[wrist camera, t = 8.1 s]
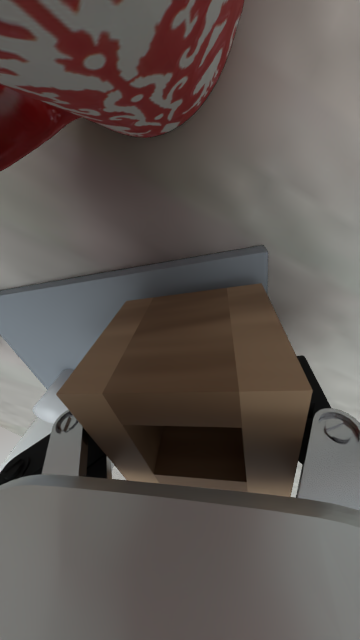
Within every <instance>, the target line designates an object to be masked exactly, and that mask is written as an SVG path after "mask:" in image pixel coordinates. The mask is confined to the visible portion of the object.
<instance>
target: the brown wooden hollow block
mask: <svg viewBox="0 0 360 640" xmlns="http://www.w3.org/2000/svg"><path fill="white" fill-rule="evenodd" d="M312 391H313V390H312V388H311V386H310V384H309V382H308V380H307V377H306V375H305V373H304V371H303V369H302V367H301V365H300V363H299V361H298V359H297V356H296V354H295V352H294V350H293V348H292V346H291V344H290V342H289V340H288V338H287V335H286V333H285V331H284V329H283V327H282V325H281V323H280V321H279V319H278V317H277V314H276V312H275V310H274V308H273V306H272V304H271V302H270V300H269V298H268V296H267V293H266V291H265V289H264V287H263V285H262V283H259V284H252V285H244V286H237V287H229V288H221V289H214V290H206V291H198V292H191V293H183V294H175V295H168V296H160V297H153V298H145V299H137V300H130V301H126V302H125V303H124V305H123V306H122V307H121V309H120V310H119V311H118V313H117V314H116V315H115V317H114V318H113V319H112V321H111V322H110V323H109V325H108V326H107V327H106V328H105V330H104V331H103V332H102V334H101V335H100V336H99V338H98V339H97V340H96V342H95V343H94V344H93V346H92V347H91V348H90V350H89V351H88V352H87V354H86V355H85V356H84V358H83V359H82V360H81V362H80V363H79V364H78V366H77V367H76V368H75V370H74V371H73V372H72V374H71V375H70V376H69V378H68V379H67V380H66V382H65V383H64V384H63V386H62V387H61V388H60V390H59V391H58V392H57V394H56V395H57V396H58V398H59V399H60V400H61V401H62V402H63V404H64V405H65V406H66V407H67V408H68V410H69V411H70V412H71V413H72V414H73V416H74V417H75V418H76V419H77V420H78V422H79V423H80V424H81V425H82V427H83V428H84V429H85V430H86V431H87V433H88V434H89V435H90V436H91V437H92V439H93V440H94V441H95V442H96V443H97V445H98V446H99V447H100V448H101V449H102V451H103V452H104V453H105V454H106V456H107V457H108V458H109V459H110V460H111V462H112V463H113V464H114V465H115V466H116V468H117V469H118V470H119V471H120V472H121V474H122V475H123V476H124V477H125V478H126V480H127V481H138V482H148V483H159V484H169V485H180V486H190V487H200V488H210V489H220V490H230V491H240V492H250V493H260V494H269V495H277V496H285V497H290V496H291V492H292V487H293V482H294V477H295V473H296V468H297V463H298V458H299V453H300V449H301V444H302V439H303V434H304V430H305V425H306V420H307V415H308V410H309V406H310V401H311V396H312Z"/></svg>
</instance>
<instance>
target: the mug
mask: <svg viewBox="0 0 360 640" xmlns="http://www.w3.org/2000/svg"><path fill="white" fill-rule="evenodd" d="M243 4H244V0H0V171H2V170H4V169H6V168H7V167H9V166H11V165H12V164H14V163H15V162H17V161H18V160H20V159H21V158H23V157H24V156H26V155H27V154H29V153H30V152H32V151H33V150H35V149H36V148H38V147H39V146H40V145H42V144H43V143H44V142H46V141H47V140H49V139H50V138H51V137H53V136H54V135H55V134H56V133H57V132H59V131H60V130H61V129H62V128H64V127H65V126H66V125H67V124H69V123H70V122H71V121H73V120H76V119H78V118H81V117H83V118H86V119H87V120H90V121H92V122H95V123H97V124H99V125H102V126H104V127H106V128H108V129H110V130H112V131H115V132H118V133H121V134H124V135H128V136H133V137H142V138H146V137H154V136H158V135H162V134H165V133H167V132H169V131H171V130H173V129H174V128H176V127H178V126H180V125H181V124H183V123H184V122H185V121H186V120H188V119H189V118H190V117H191V116H192V115H193V114H194V113H195V112H196V111H197V110H198V109H199V108H200V106H201V105H202V104H203V103H204V101H205V100H206V99H207V97H208V96H209V94H210V92H211V91H212V89H213V87H214V86H215V84H216V82H217V80H218V78H219V76H220V74H221V72H222V70H223V68H224V65H225V62H226V60H227V57H228V54H229V52H230V49H231V46H232V43H233V39H234V36H235V33H236V29H237V25H238V22H239V19H240V16H241V12H242V8H243Z"/></svg>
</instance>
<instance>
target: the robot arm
mask: <svg viewBox="0 0 360 640" xmlns="http://www.w3.org/2000/svg"><path fill="white" fill-rule="evenodd" d="M297 359H298V361H299V363H300V365H301V367H302V369H303V371H304V373H305V375H306V377H307V380H308V382H309V384H310V386H311V388H312V390H313V391H312V396H311V401H310V406H309V410H308V415H307V420H306V425H305V430H304V434H303V439H302V444H301V449H300V453H299V458H298V461H299V462H300V463H301V464H302V469H301V474H300V479H299V484H298V490H297V495H296V498H294V497H285V496H277V495H269V494H260V493H250V492H240V491H230V490H220V489H210V488H200V487H190V486H180V485H169V484H159V483H148V482H138V481H127V480H116V479H112V470H111V460H110V459H109V458H108V457H107V456H106V454H105V453H104V452H103V451H102V449H101V448H100V447H99V446H98V445H97V443H96V442H95V441H94V440H93V439H92V437H91V436H90V435H89V434H88V433H87V431H86V430H85V429H84V428H83V427H82V425H81V424H80V423H79V422H78V420H77V419H76V418H75V417H74V416H73V414H72V413H71V412H70V411H69V410H67V411H65V412H64V413H63V414H61V415H60V416H59V417H58V418H57V420H56V421H55V423H54V425H53V427H52V431H51V433H50V434H49V435H47V436H46V437H44V438H43V439H41V440H40V441H38V442H37V443H35V444H34V445H32V446H31V447H29V448H28V449H26V450H25V451H23V452H21V453H20V454H18V455H17V456H16V457H14V458H13V459H12V460H10V461H9V462H8V463H7V464H6V465H5V467H4V468H3V469H2V471H1V472H0V640H360V423H359V422H358V421H357V420H356V419H355V418H354V417H352V416H351V415H349V414H348V413H346V412H343V411H341V410H337V409H333V408H331V407H330V405H329V403H328V401H327V399H326V397H325V395H324V393H323V391H322V389H321V387H320V385H319V383H318V381H317V379H316V377H315V376H314V374H313V372H312V370H311V368H310V366H309V364H308V362H307V360H306V358H305V357H304V356H297Z"/></svg>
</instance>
